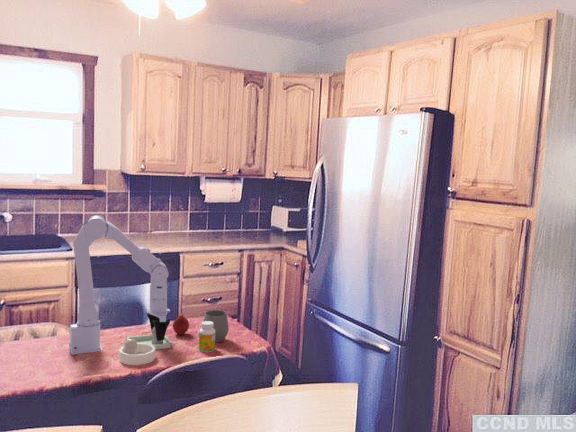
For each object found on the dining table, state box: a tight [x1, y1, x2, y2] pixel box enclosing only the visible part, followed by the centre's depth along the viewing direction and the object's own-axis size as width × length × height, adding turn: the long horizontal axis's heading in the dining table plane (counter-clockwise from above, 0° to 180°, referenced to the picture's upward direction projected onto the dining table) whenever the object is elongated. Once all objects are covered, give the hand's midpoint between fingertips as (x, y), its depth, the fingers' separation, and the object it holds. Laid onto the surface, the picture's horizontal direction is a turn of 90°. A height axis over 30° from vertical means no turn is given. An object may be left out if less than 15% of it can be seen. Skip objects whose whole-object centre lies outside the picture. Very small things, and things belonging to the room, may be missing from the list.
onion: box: [172, 313, 190, 336], centre depth 196 cm, size 6×6×8 cm
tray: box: [125, 334, 173, 350], centre depth 184 cm, size 13×11×2 cm
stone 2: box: [151, 327, 163, 345], centre depth 185 cm, size 4×4×6 cm
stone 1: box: [124, 339, 137, 355], centre depth 170 cm, size 4×4×6 cm
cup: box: [202, 309, 230, 343], centre depth 192 cm, size 10×9×10 cm
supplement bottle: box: [198, 320, 216, 353], centre depth 182 cm, size 5×5×10 cm
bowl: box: [118, 343, 157, 366], centre depth 171 cm, size 11×11×4 cm
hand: (157, 336), depth 185 cm, fingers open, 7 cm apart
